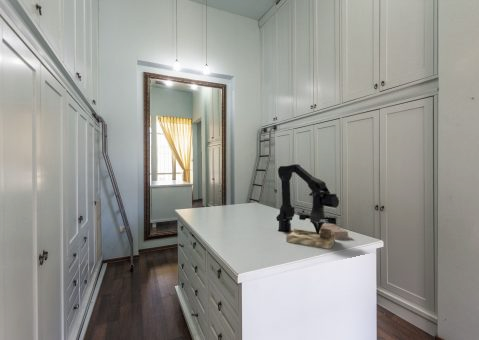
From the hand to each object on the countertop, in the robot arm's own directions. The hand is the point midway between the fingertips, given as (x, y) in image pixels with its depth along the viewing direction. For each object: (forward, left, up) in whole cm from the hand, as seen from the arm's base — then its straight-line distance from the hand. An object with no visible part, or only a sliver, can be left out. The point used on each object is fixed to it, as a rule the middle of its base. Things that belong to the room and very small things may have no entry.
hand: (317, 234), depth 123 cm
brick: (+5, +16, -4) cm, 18 cm away
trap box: (-3, -2, -4) cm, 5 cm away
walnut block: (+4, 0, -1) cm, 4 cm away
